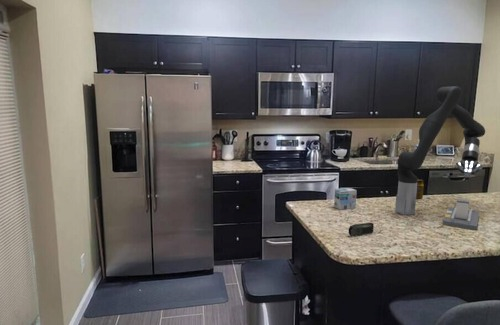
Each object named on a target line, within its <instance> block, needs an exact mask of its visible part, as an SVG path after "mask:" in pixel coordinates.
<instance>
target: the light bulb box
mask: <svg viewBox="0 0 500 325" xmlns="http://www.w3.org/2000/svg"><path fill="white" fill-rule="evenodd" d="M333 200H334V202H333V207H334V208H336V209H338V210H339V211H340V210H354V209H356V207H357V189H354V188H352V187H344V188H341V187H340V188H334V199H333Z"/></svg>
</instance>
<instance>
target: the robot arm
mask: <svg viewBox="0 0 500 325" xmlns="http://www.w3.org/2000/svg"><path fill="white" fill-rule="evenodd" d="M462 95H463V88H461V87H460V86H441V87H439V88H438V89H437V91H436V93H435V99H436V101H437V102H438V103H439V104H440V106H439V108H437V109H436V110H435V111H434V112H432V113H431V114H429V115H428V116H427V117H426V118H425V119H424V120H423V123H422V124H421V126H420V127H419V130H418V138H419V139H418V144H417V146H416V148H415V150H414V151H413V152H412V151H402V152H401V153H400V154H399V156H398V157H397V158H398V159H397V177H398V183H397V184H398V186H397V194H396V195H395V205H394V206H395V207H394V212H395V213H398V214H401V215H403V216H404V215H406V216H407V215H408V216H409V215H410V216H411V215H412V216H414V215H415V213H416V205H417V204H416V202H417V200H416V192H417V180H418V179H419V178H418V176H417V175H415V174H414V173H413V171H417V170H419V169H420V168H421V167H422V166H423V163H424V161H425V160H426V158H427V155H428V152H429V150H430V148H432V147H431V146H432V145H433V143H434V141H435V139H436V138H437V137H438V136H439V135H438V134H440V131H441V129H442V128H443V126H444V124H445V123H446V120H447V119H448V117H450V114H451V115H452V117H454V119H455V120H456V121H457V122H458V124H459V125H460V127H461V128H462V129H463V131H462V132H463V133H462V134H463V138H464V146H463V150H462V156H461V160H460V162H456V163H455V168H456V169H457V170H458V171H459V172H460V174H463V179H465V180H466V181H469V180H470V179H471V176H472V175H476V174H477V173H478V172H480V171H482V170H483V165H482V164H479V155H480V144H481V142H480V141H481V140H480V139H479V138H481V137H483V136H485V134H486V128H485V126H484V125H483V124H481V123H480V122H478V121H477V120H476V119H475V118H474V117H473V116H472V114H471V113H470V112H469V111H468V110H466V109H465V108H463V106H460V105H459V102H460V101H461V98H462Z"/></svg>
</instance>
